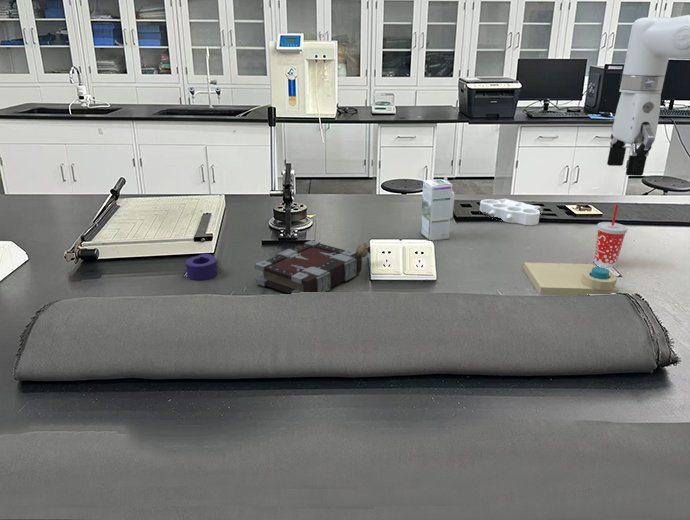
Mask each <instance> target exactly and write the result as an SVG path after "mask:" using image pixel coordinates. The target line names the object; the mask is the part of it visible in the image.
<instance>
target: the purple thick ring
mask: <svg viewBox="0 0 690 520" xmlns="http://www.w3.org/2000/svg"><path fill="white" fill-rule="evenodd" d="M217 262H218V261H217V258H216V257H215V256H214V255H213V254H210V253H202V254H198V255H195V256H191V257H189V258H187V259H186V260H185V269H186V276H187V278H188V279H189V280H191V281H207V280H211V279H213V278H215V277H216V276H218V264H217Z"/></svg>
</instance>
